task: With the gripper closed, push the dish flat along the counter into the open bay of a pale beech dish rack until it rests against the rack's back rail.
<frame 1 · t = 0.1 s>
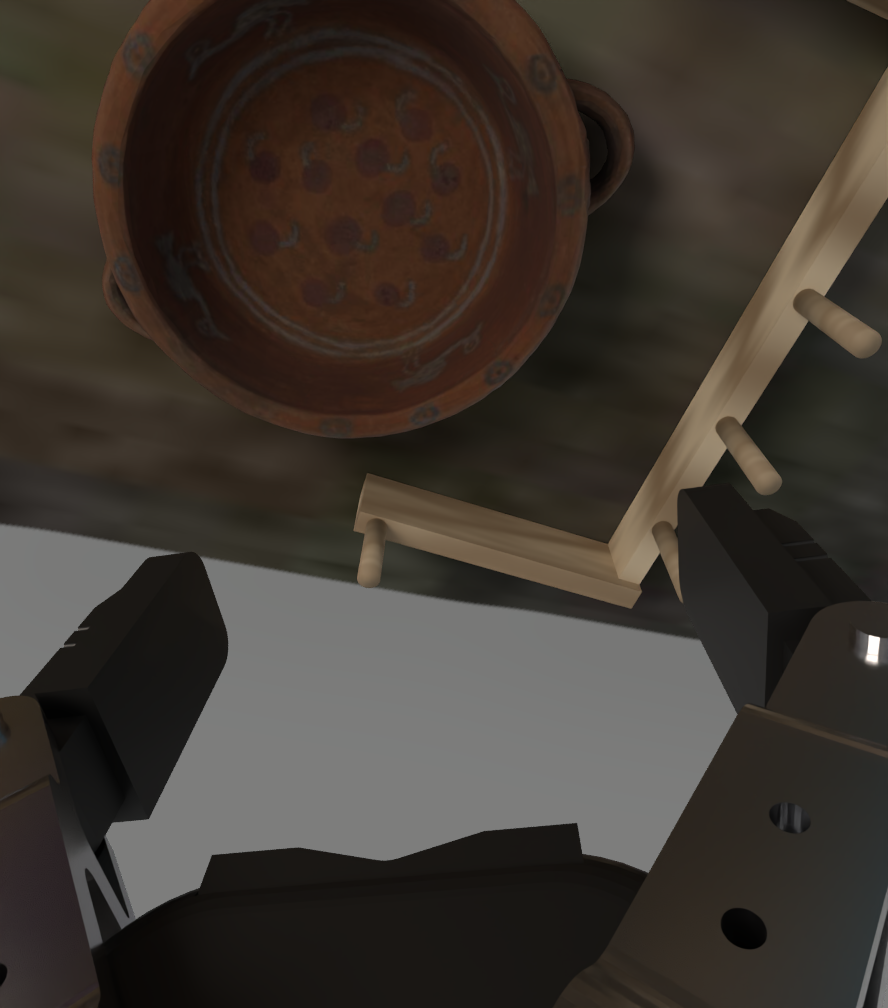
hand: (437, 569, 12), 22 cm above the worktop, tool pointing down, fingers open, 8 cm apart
dish: (357, 200, 30), on the worktop
rack: (594, 289, 31), on the worktop
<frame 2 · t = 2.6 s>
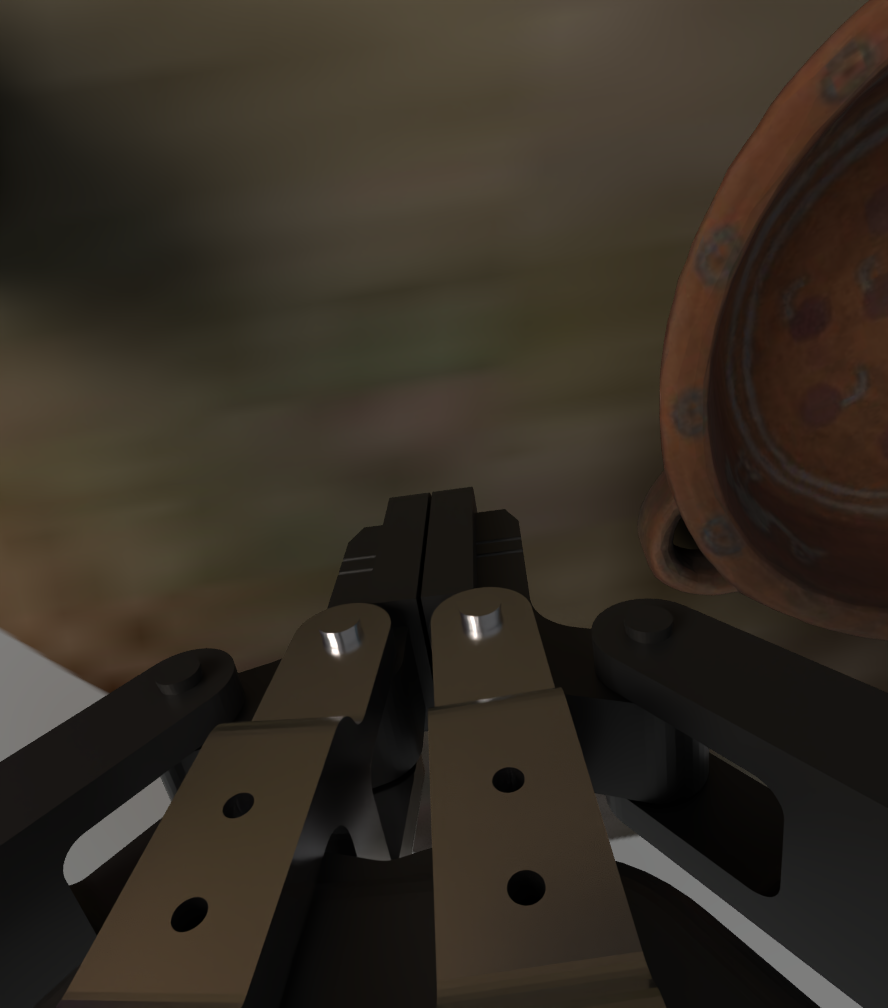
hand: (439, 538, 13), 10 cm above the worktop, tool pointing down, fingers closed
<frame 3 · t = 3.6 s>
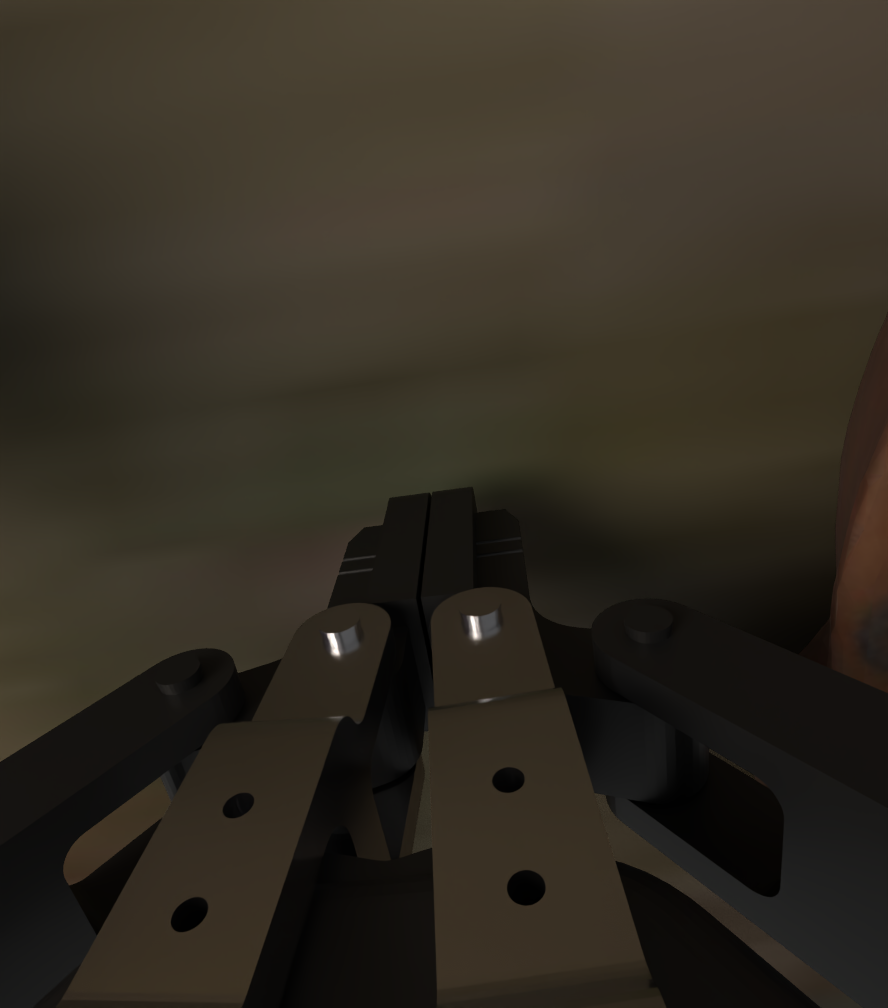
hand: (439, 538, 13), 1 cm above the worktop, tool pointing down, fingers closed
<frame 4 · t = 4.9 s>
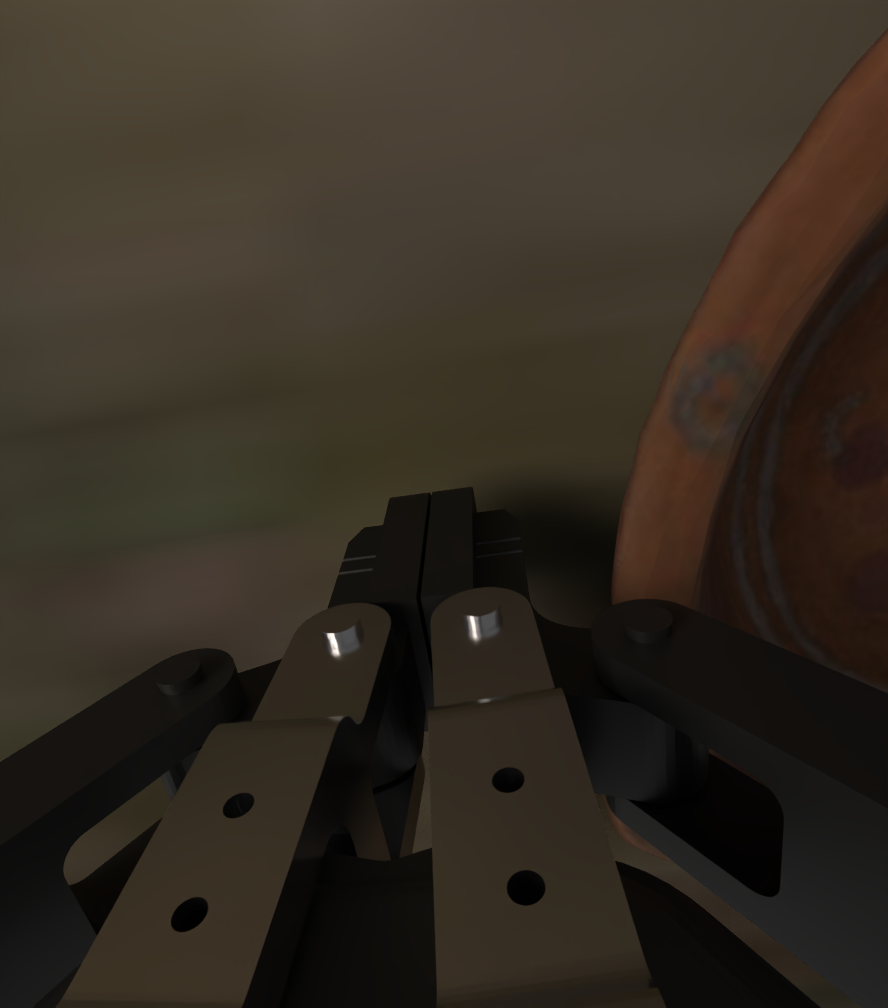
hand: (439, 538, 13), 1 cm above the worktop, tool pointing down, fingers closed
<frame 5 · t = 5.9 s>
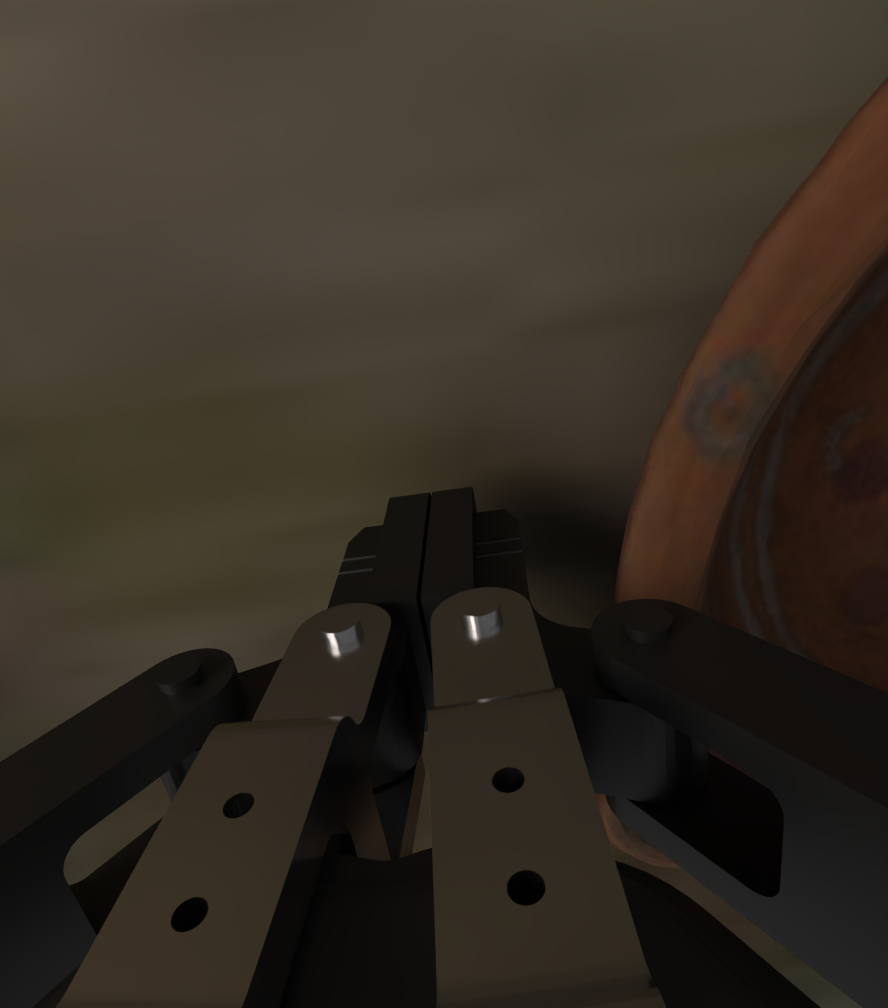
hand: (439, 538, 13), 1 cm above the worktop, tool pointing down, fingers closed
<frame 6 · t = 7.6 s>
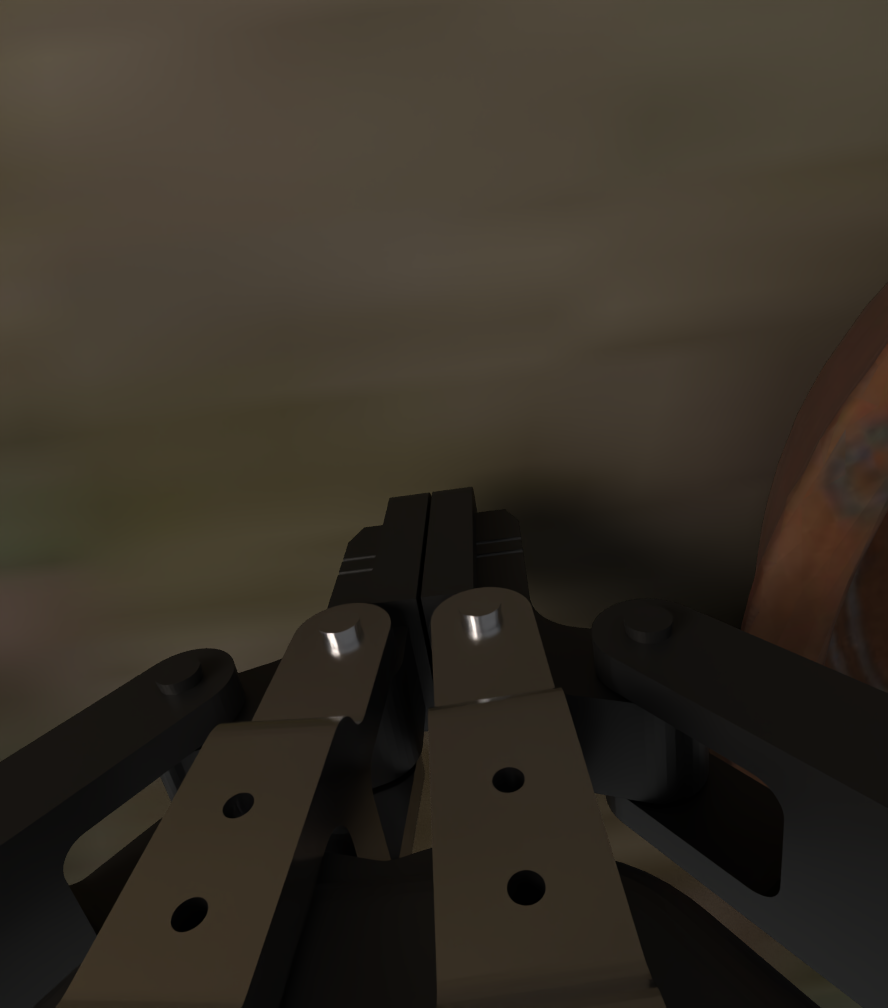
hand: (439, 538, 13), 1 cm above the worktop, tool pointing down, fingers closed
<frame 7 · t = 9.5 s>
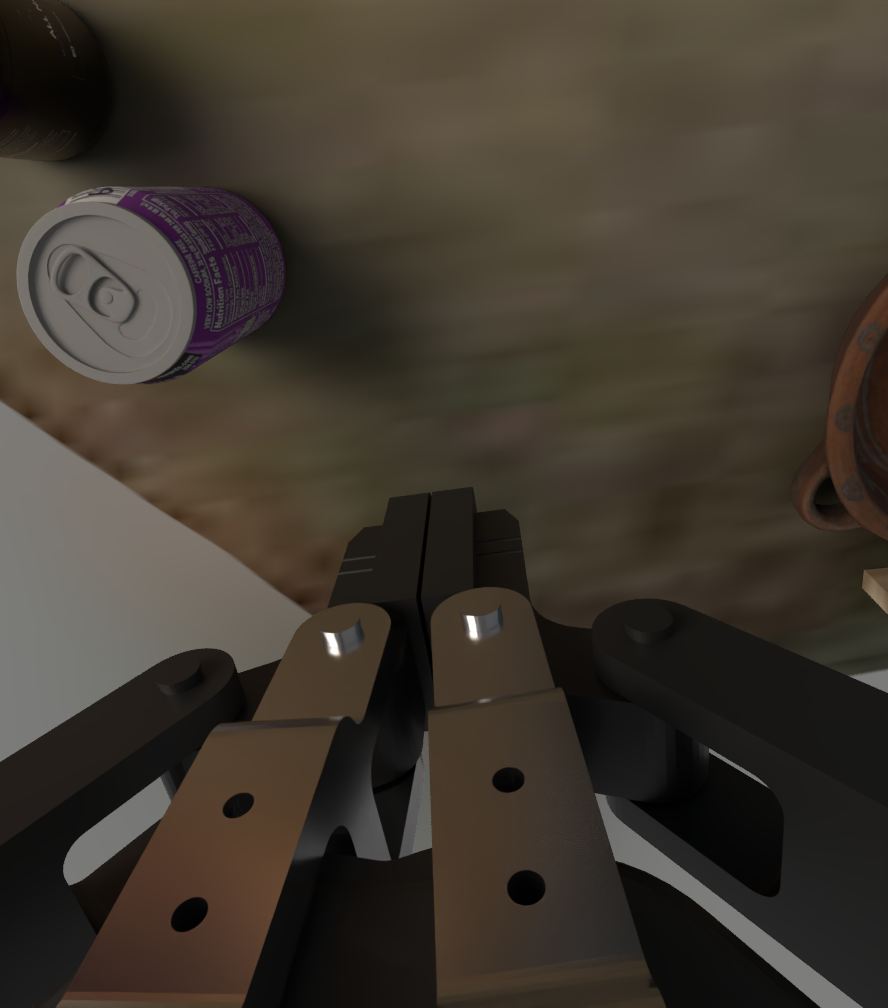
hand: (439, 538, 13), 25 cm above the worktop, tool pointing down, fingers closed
beverage can: (220, 264, 36), on the worktop
supplement bottle: (44, 79, 33), on the worktop
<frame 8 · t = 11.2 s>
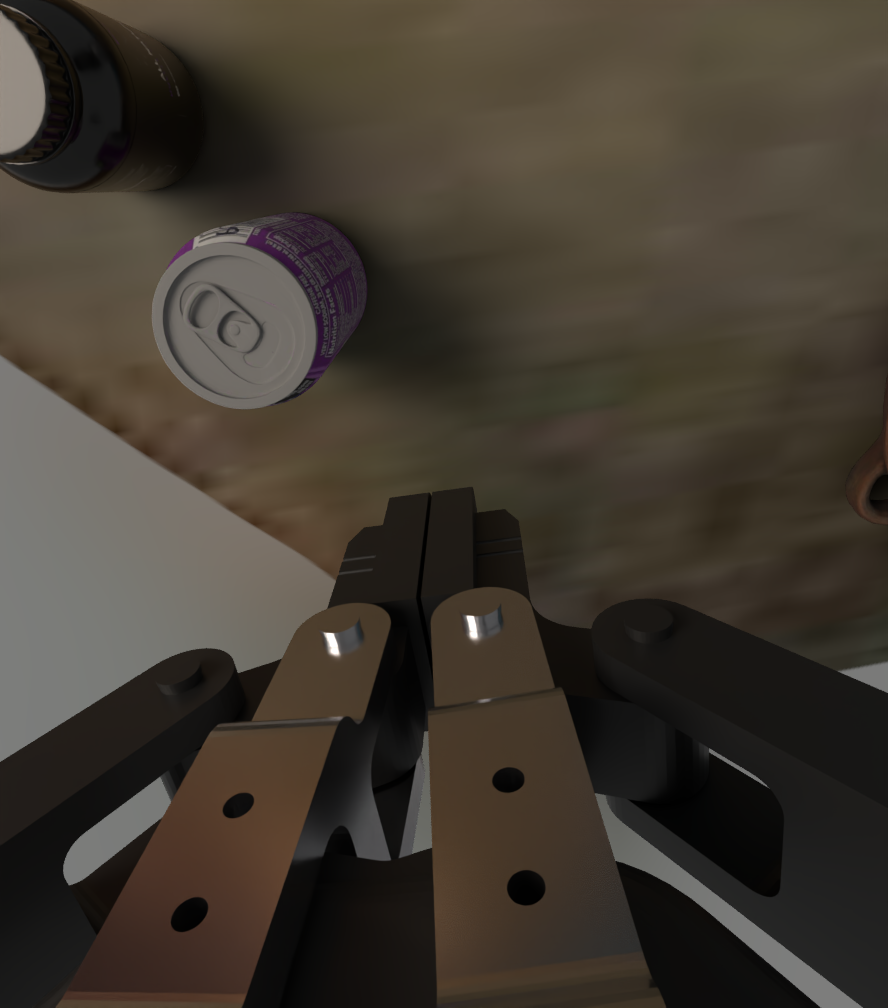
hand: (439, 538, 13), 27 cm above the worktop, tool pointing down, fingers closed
beverage can: (302, 283, 37), on the worktop
supplement bottle: (138, 113, 34), on the worktop
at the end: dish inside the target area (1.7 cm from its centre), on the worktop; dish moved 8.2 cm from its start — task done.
